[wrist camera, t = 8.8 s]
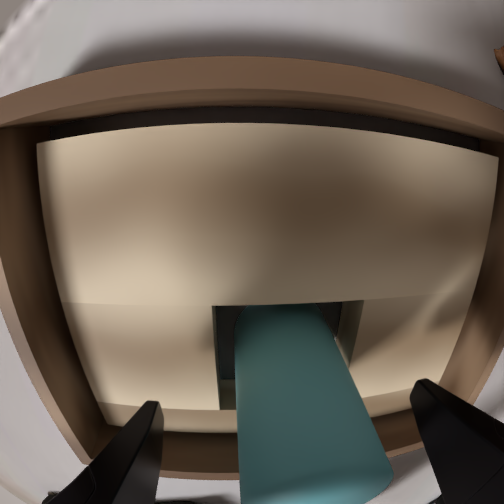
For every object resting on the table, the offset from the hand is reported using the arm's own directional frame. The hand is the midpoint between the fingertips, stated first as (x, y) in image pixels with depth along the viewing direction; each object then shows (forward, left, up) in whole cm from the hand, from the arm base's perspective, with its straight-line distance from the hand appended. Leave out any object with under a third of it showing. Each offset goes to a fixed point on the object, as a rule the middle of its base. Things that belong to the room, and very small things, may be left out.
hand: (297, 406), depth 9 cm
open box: (+2, 0, -4) cm, 5 cm away
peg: (0, 0, -4) cm, 4 cm away
